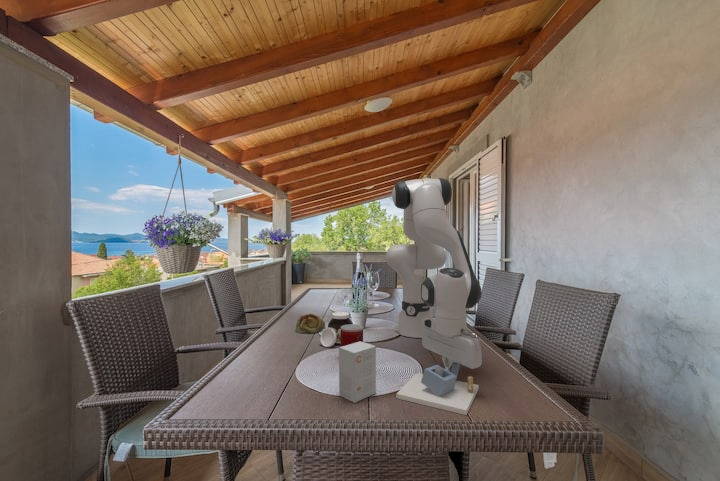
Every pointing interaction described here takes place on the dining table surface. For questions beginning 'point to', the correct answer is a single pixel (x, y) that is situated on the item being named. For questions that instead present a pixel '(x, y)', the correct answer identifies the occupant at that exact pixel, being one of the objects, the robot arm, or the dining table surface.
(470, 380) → the dowel
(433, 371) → the grey socket with handle
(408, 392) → the post board
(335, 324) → the spread jar
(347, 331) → the canned food
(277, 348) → the dining table surface
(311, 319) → the pastry
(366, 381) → the small box
